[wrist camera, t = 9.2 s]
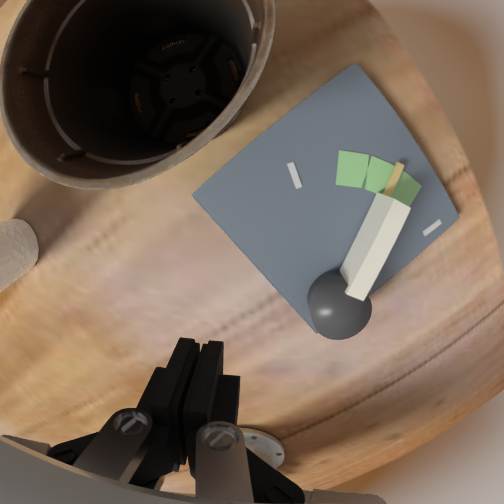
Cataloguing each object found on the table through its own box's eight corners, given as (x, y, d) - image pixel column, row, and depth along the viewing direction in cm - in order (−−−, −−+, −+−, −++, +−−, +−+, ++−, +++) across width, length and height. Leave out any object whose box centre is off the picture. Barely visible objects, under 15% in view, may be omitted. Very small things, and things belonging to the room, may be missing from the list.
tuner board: (454, 215, 29) (460, 217, 28) (315, 329, 33) (316, 334, 32) (352, 64, 25) (355, 61, 24) (193, 193, 30) (191, 195, 28)
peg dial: (344, 327, 32) (354, 350, 28) (297, 310, 31) (302, 332, 27) (421, 177, 27) (443, 181, 23) (374, 149, 26) (392, 149, 22)
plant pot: (143, 198, 30) (44, 243, 14) (88, 67, 26) (-18, 31, 10) (297, 126, 27) (337, 95, 12) (227, -7, 23) (200, -110, 8)
